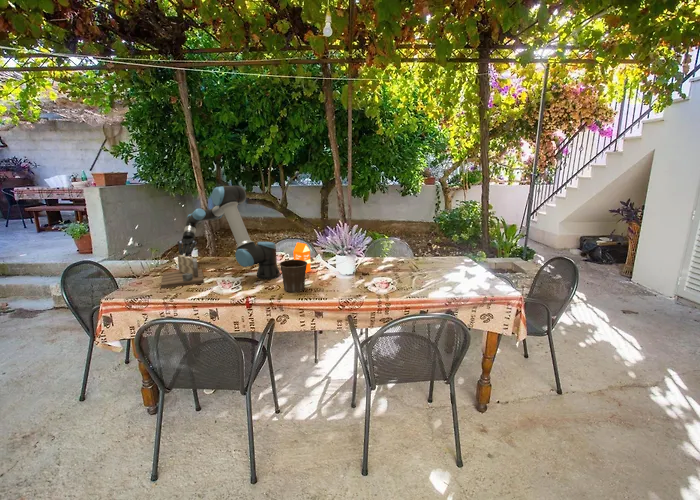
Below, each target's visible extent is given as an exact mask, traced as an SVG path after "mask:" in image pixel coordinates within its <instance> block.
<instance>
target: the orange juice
mask: <svg viewBox="0 0 700 500" xmlns="http://www.w3.org/2000/svg"><path fill="white" fill-rule="evenodd" d="M292 251H293V254H292V255H293V260H303V261H306V262H307V266H306V272H305V274H307V273H308V272H311V271H312V270H311V269H312V267H311V263H312V262H311V250H310V248H309V246H308V245H307V243H303V242H296V245H295V247H294V250H292Z"/></svg>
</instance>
